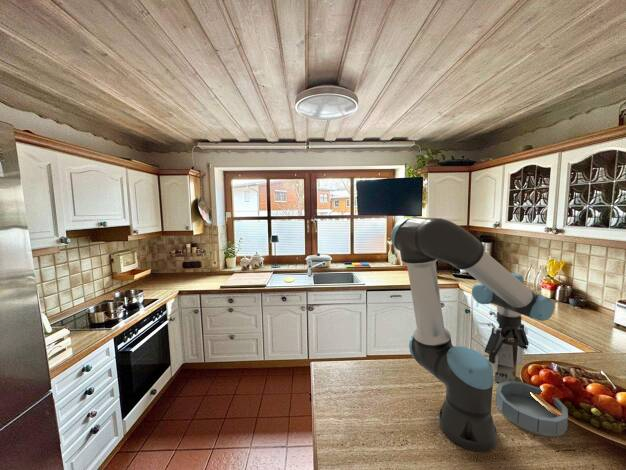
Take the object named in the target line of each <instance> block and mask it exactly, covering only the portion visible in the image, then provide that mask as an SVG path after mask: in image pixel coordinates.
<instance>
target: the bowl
mask: <svg viewBox="0 0 626 470" xmlns="http://www.w3.org/2000/svg"><path fill="white" fill-rule="evenodd" d="M541 389H542V388H541V387H538V386H535V385H532V384H530V383H526V382H522V381H516V380H515V381H506V382H502V383H499V382H498V383H497V386H496V393H495V403H496V404H495V405H496V407H497V409H498V411H499V412H500V414H501V415H503V417H504V418H506V419H507V420H508V421H509V422H511V423H512V424H514V425H516V426H518V427H519V428H521V429H523V430H525V431H527V432H529V433H532V434H535V435H539V436H543V437H547V438H549V437H550V438H557V437H560V436H561V437H562V436H563V435H564V434H566V432H567V430H568V423H569V422H568V421H569V414H568V413H569V411H568V407H567V406H566V405H565V404H564V403H563V402H562V401H561V400H560V399H559V398H558V397H556V398H554V397H552V398H553V399H554V405H555V406H556V407H557V408H558V409H559V410H560V411H561V412H562V415H561V416H557V415H555V414H553V413H551V412H550V411H548V410H547V409H546V408H545V407H544V406H542V405H541V404H540V403H539V402H538V401H536V400H535V399H534V398H533V397H532V396H531V394H530V392H532V393H534V394H537V395H539V394H541V392H542V390H541Z"/></svg>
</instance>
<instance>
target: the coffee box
mask: <svg viewBox="0 0 626 470" xmlns="http://www.w3.org/2000/svg"><path fill="white" fill-rule="evenodd" d="M500 336H501V335H500ZM501 337H502V336H501ZM517 351H518V339H516V338H514V337H513V338H509V339H507V341H504V343H503V344H502V346H501V348H500V350H499V351H498V353H497V355H498V367H497V372H494V377H493V379H494V382H496V383H498V384H499V383H502V382H506V381H515V382H516V376H517V366H518V363H517Z"/></svg>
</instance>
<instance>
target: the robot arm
mask: <svg viewBox="0 0 626 470" xmlns="http://www.w3.org/2000/svg"><path fill="white" fill-rule="evenodd" d="M390 239H391V240H390V241H391V244H392V246H393V247H394V248H395V249H396V250H397V251H399V255H400V259H401V262H402V263H403V264H405V265H406V269H407V273H408V279H409V286H410V292H411V299H412V303H413V304H412V305H413V311H414V317H415V324H416V329H414V331H413V334H412V335H411V339H410V340H409V344H408V347H409V353H410V355H411V356H412V357H411V358H413V359H414V360H415V361H416V362H417V364H418V365H419V366H421V367H422V368H423V369H425V370H426V371H427V372H429V373H430V374H431V375H433V376H434V377H435V378H436V379H437V380H439V381H440V382H441V383H443V385H445V399H444V401H443V403H442V406H441V407H440V410H439V414H438V423H439V427H440V429H441V431H442V432H443V434H444V435H445V436H446V437H447V438H448V439H449V440H451V441H452V442H453V443H455V444H457V446H459V447H462V448H464V449H467V450H469V451H473V452H478V453H480V452H481V453H484V452H485V453H486V452H490V451H492V450H493V449H495V448H496V446H497V444H498V430H497V427H496V425H495V424H494V423H495V422H494V419H493V414H492V402H493V401H492V400H493V389H494V388H493V386H494V382H495V381H494V373H495V372H497V367H498V355H497V353H498V351H499V350H500V348H501V346H502V344H503V343H504V341H507V339H509V338H513V337H514V338H516V339H518V351H517V364H519V365H520V366H522V365H524V353H525V350H528V346H529V343H530V342H529V339H528V337H527V333H526V332H525V325H524V323H522V316H525V317H529V318H530V319H534V320H538V321H540V322H544V321H548V320H549V319H550V318H551V317H552V316H553V314H554V313H555V312H554V311H555V302H554V300H552V299H551V298H549V297H547V296H546V295H543V294H538V293H535V292H534V291H533V290H531V288H529V287H528V286H527V285H525V283H524V282H525V281H524V280H525V279H524V276H523V275H522V274H520V273H516V272H510V271H509V270H508V269H507V268H506V267H504V266H503V265H502V264H501V263H500V262H498V260H496V259H495V258H493V256H491V255H490V254H489V253H488V252H487V251H485V250H486V249H485V245H484V244H483V243H482V242H481V241H480V240H479V239H477V238H476V237H475V236H474V235H473V234H471V233H470V232H469V231H468V230H465V228H463V227H461V226H460V225H458V224H456V223H454V222H453V221H450V220H448V219H446V218H441V217H440V218H439V217H421V216H409V217H404V218H402V219H399V220H398V221H397V222H396V223H395V224H394V226H393V228H392V230H391V234H390ZM438 260H439V261H442V262H444V263H447V264H450V265H451V266H453V267H454V268H455V269H458V270H464V271H465V272H466V273H468V274H469V276H471V277H473V278H474V279H475V280H476V281H478V282H479V283H478V282H477V283H475V284H474V285H473V286H472V287H471V288H472V289H471V295H472V297H473V299H474V301H475V302H477V303H478V304H481V305H492V304H493V305H495V306H496V311H497V312H496V322H497V323H498V327H497V328H496V327H495V326H493V327H492V328H491V333H490V336H489V338H488V341H487V343H486V344H485V345H486V346H485V348H484V352H485V354H488V358H487V357H486V356H485V355H484V354H482V353H481V352H480V351H477V350H475V349H473V348H468V347H467V346H462V345H453V343H452V337H451V332H450V331H449V330H448V329H447V328H445V322H444V317H443V316H444V315H443V310H442V302H441V294H440V293H441V292H440V288H439V280H438V274H437V265H436V262H438ZM500 335H501V336H502V337H501V336H500Z"/></svg>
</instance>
